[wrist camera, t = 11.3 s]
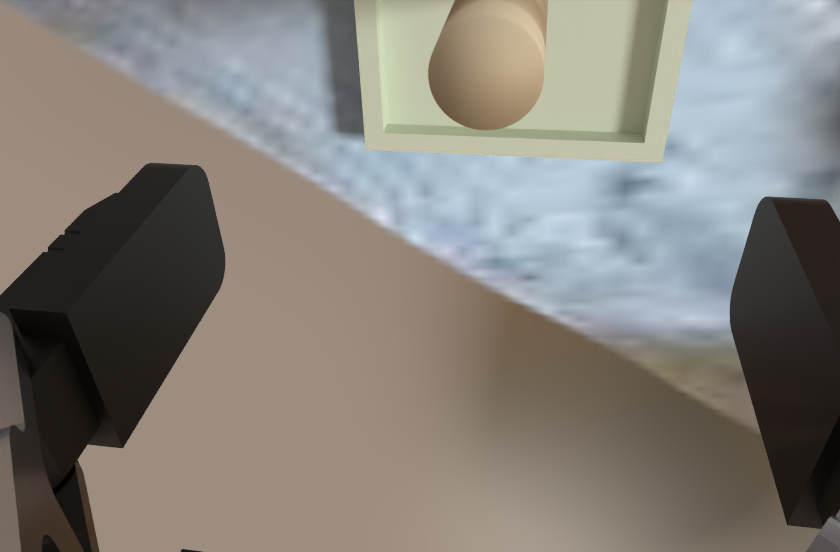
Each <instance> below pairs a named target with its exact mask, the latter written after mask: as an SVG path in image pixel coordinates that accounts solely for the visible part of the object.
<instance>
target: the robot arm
mask: <svg viewBox="0 0 840 552" xmlns="http://www.w3.org/2000/svg"><path fill="white" fill-rule="evenodd" d="M224 271H225V252H224V247H223V242H222V238H221V234H220V230H219V225H218V221H217V217H216V212H215V208H214V203H213V199H212V195H211V190H210V186H209V182H208V178H207V176H206V173H205V172H204V170H203V169H202V168H201V167H199V166H197V165H182V164H181V165H180V164H163V163H149V164H146V165H145V166H144V167H143V168H142V169H141V170H140V171H139V172H138V173H137V174H136V175H135V176H134V177H133V178H132V179H131V180H130V181H129V183H128V184H127V185H126V186H125V187H124V188H123V189H122V190H121V191H120V192H119V193H115V194H112V195H111V196H109V197H107V198H105V199H104V200H102V201H100V202H98V203H96V204H95V205H93V206H91V207H89V208H88V209H86V210H84V211H83V213H81V214H80V216H78V217H77V219H75V220H74V222H73V223H72V224H71V225H70V226H69V227H68V228H67V229H66V230H65V234H64V235H60V236H59V237H58V238H57V239H56V240H55V241H54V242H53V243H52V244H51V245H50V246H49V247H48V252H43V253H42V254H41V255H40V256H39V257H38V258H37V259H36V260H35V261H34V262H33V263H32V264H31V265H30V266H29V267H28V268H27V269H26V270H25V271H24V272H23V273H22V274H21V275H20V276H19V277H18V278H17V279H16V280H15V281H14V282H13V283H12V284H11V285H10V286H9V287H8V288H7V289H6V290H5V291H4V292H3V293H2V294H1V295H0V552H99V547H98V542H97V537H96V532H95V527H94V522H93V517H92V512H91V507H90V502H89V497H88V493H87V487H86V483H85V478H84V473H83V471H82V468H81V466H80V464H79V462H78V460H77V459H78V458H79V456H80V455H81V453H82V452H83V450H84V449H85V447H86V446H87V444H90V445H98V446H107V447H117V448H123V447H124V445H125V444H126V442H127V440H128V439H129V437H130V436H131V434H132V432H133V431H134V429H135V427H136V426H137V424H138V422H139V421H140V419H141V418H142V416H143V414H144V413H145V411H146V409H147V408H148V406H149V404H150V403H151V401H152V399H153V398H154V396H155V395H156V393H157V391H158V389H159V388H160V386H161V385H162V383H163V381H164V379H165V378H166V377H167V375H168V373H169V372H170V370H171V368H172V367H173V365H174V363H175V362H176V360H177V358H178V357H179V355H180V354H181V352H182V350H183V349H184V347H185V345H186V343H187V342H188V340H189V339H190V337H191V335H192V334H193V332H194V331H195V329H196V327H197V325H198V324H199V322H200V321H201V319H202V317H203V316H204V314H205V312H206V311H207V309H208V308H209V306H210V304H211V303H212V301H213V299H214V297H215V296H216V294H217V293H218V291H219V289H220V287H221V284H222V281H223V277H224ZM730 324H731V330H732V334H733V338H734V341H735V345H736V348H737V352H738V355H739V359H740V362H741V366H742V369H743V373H744V376H745V380H746V383H747V386H748V390H749V393H750V397H751V400H752V404H753V407H754V411H755V414H756V418H757V421H758V425H759V428H760V432H761V435H762V439H763V442H764V446H765V449H766V453H767V456H768V459H769V463H770V467H771V470H772V473H773V477H774V480H775V484H776V487H777V490H778V494H779V498H780V501H781V505H782V508H783V512H784V515H785V519H786V522H787V525H791V526H801V527H810V528H818V529H821V530H820V532H819V533H818V535H817V536H816V538H815V539H814V541H813V542H812V544H811V545H810V547H809V548H808V550H807V551H806V552H840V221H839V220H838V218H837V216H836V214H835V213H834V211H833V209H832V207H831V206H830V204H829V203H828V202H827V201H826V200H822V199H803V198H784V197H764V198H763V199H762V200H761V201H760V203H759V204H758V206H757V209H756V211H755V214H754V218H753V221H752V225H751V228H750V231H749V235H748V238H747V241H746V245H745V248H744V251H743V255H742V258H741V262H740V265H739V268H738V272H737V275H736V278H735V282H734V285H733V289H732V294H731V301H730ZM181 552H200V551H193V550H185V549H182V550H181Z"/></svg>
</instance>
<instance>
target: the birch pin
mask: <svg viewBox="0 0 840 552" xmlns="http://www.w3.org/2000/svg"><path fill="white" fill-rule="evenodd" d="M547 13H548V0H455V1H454V3H453V5H452V8H451V10H450V12H449V15H448V17H447V19H446V22H445V24H444V26H443V29H442V31H441V33H440V36H439V38H438V40H437V43H436V45H435V47H434V50H433V52H432V54H431V58H430V61H429V67H428V80H429V86H430V90H431V93H432V95H433V98H434V100H435V101H436V103H437V105H438V106H439V107H440V109H441V110H442V111H443V112H444V113H445V114H446V115H447V116H448V117H449V118H451V119H452V120H453V121H455V122H457V123H458V124H461V125H463V126H465V127H468V128H471V129H476V130H497V129H501V128H505V127H508V126H510V125H512V124H514V123H516V122H518V121H519V120H521V119H522V118H523V117H524V116H526V115H527V114H528V113H529V112H530V111H531V109H532V108H533V107H534V105H535V104H536V102H537V100H538V99H539V96H540V94H541V91H542V87H543V83H544V70H545V51H546V32H547Z"/></svg>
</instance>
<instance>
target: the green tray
mask: <svg viewBox="0 0 840 552" xmlns="http://www.w3.org/2000/svg"><path fill="white" fill-rule="evenodd" d="M454 1H455V0H354V7H355V20H356V33H357V46H358V58H359V71H360V84H361V97H362V110H363V123H364V135H365V148H366V150H379V151H403V152H426V153H450V154H473V155H496V156H520V157H543V158H567V159H590V160H614V161H637V162H661V163H662V161H663V155H664V150H665V145H666V139H667V134H668V129H669V123H670V118H671V113H672V107H673V102H674V97H675V91H676V86H677V81H678V76H679V70H680V65H681V60H682V54H683V49H684V44H685V38H686V33H687V28H688V22H689V17H690V12H691V6H692V1H693V0H548V13H547V32H546V51H545V70H544V83H543V87H542V91H541V94H540V96H539V99H538V100H537V102H536V104H535V105H534V107H533V108H532V109H531V111H530V112H529V113H528V114H527V115H526V116H524V117H523V118H522V119H521V120H519V121H518V122H516V123H514V124H512V125H510V126H508V127H505V128H501V129H497V130H476V129H471V128H468V127H465V126H463V125H461V124H458V123H457V122H455V121H453V120H452V119H451V118H449V117H448V116H447V115H446V114H445V113H444V112H443V111H442V110H441V109H440V107H439V106H438V105H437V103H436V101H435V100H434V98H433V95H432V93H431V90H430V86H429V80H428V67H429V61H430V58H431V54H432V52H433V50H434V47H435V45H436V43H437V40H438V38H439V36H440V33H441V31H442V29H443V26H444V24H445V22H446V19H447V17H448V15H449V12H450V10H451V8H452V5H453V3H454Z"/></svg>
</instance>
